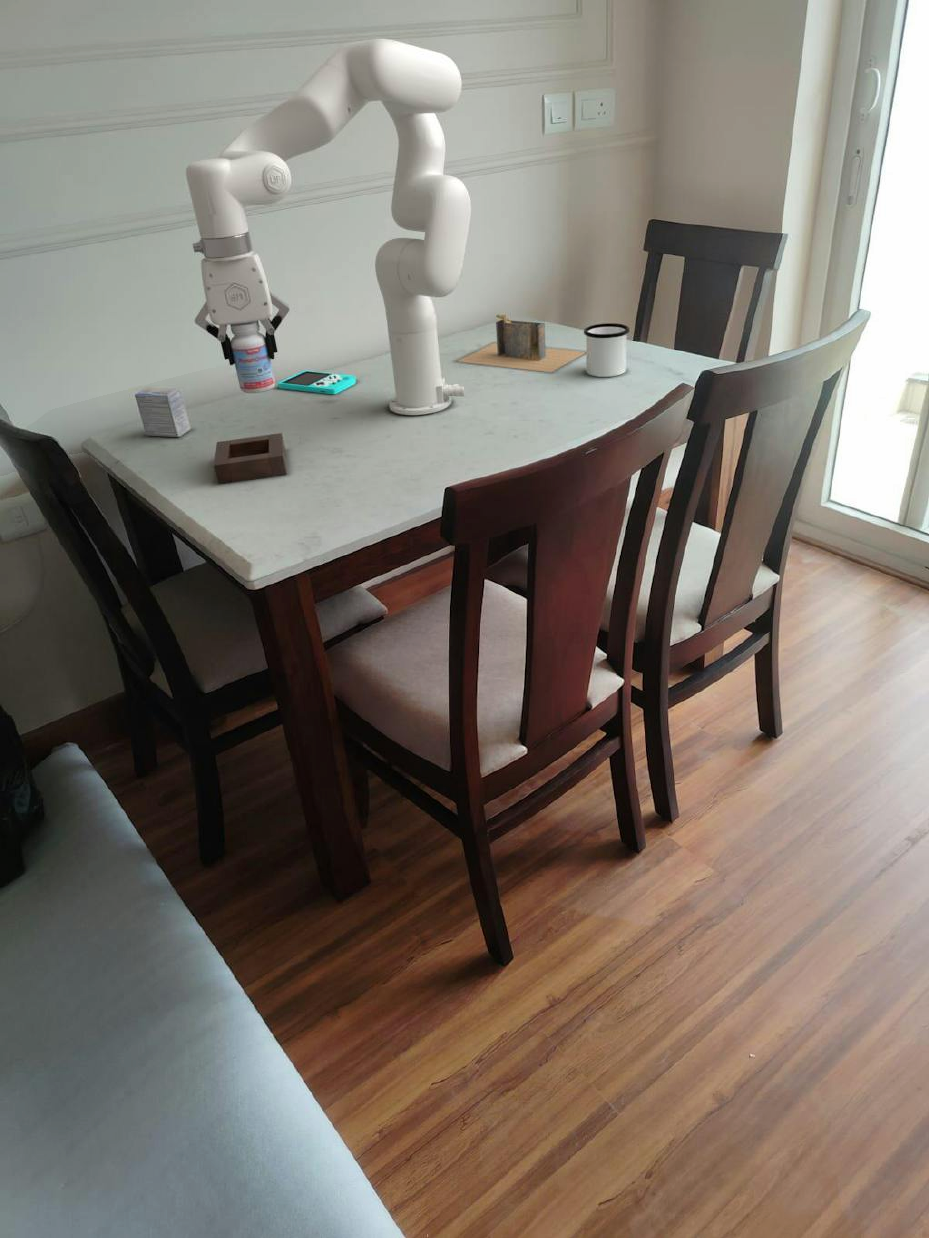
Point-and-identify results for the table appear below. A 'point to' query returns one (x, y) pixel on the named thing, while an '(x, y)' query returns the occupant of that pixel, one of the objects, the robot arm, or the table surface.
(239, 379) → the pill bottle
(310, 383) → the handheld game console
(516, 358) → the architectural model on board
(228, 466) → the holder
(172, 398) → the medicine box
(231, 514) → the table surface
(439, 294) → the robot arm
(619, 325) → the mug
